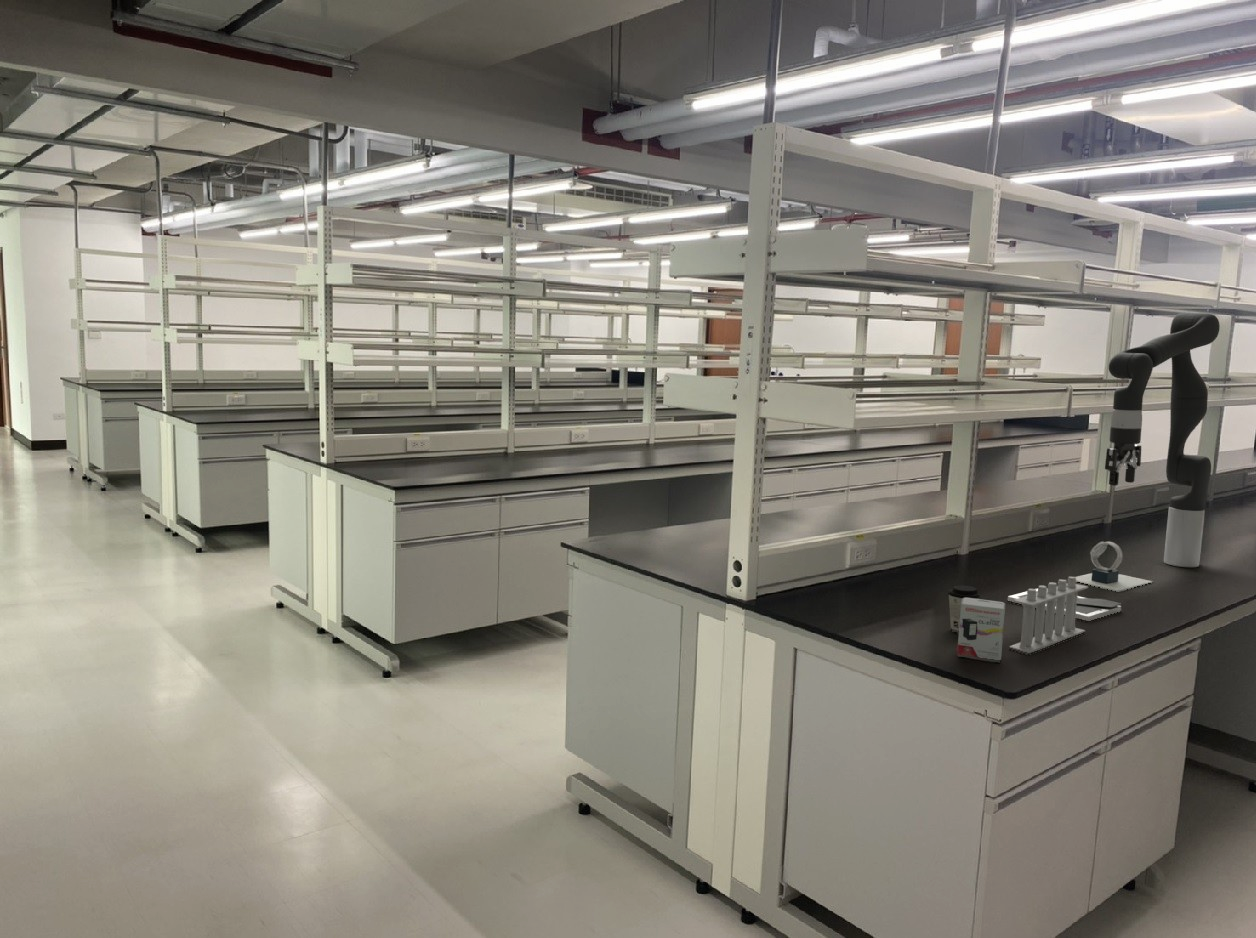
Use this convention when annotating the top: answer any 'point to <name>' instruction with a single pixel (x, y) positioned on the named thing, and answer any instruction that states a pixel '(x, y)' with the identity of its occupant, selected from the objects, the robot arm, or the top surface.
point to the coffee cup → (959, 602)
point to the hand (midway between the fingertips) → (1121, 483)
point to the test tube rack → (1049, 615)
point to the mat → (1121, 585)
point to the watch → (1101, 572)
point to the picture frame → (1084, 606)
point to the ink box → (981, 628)
